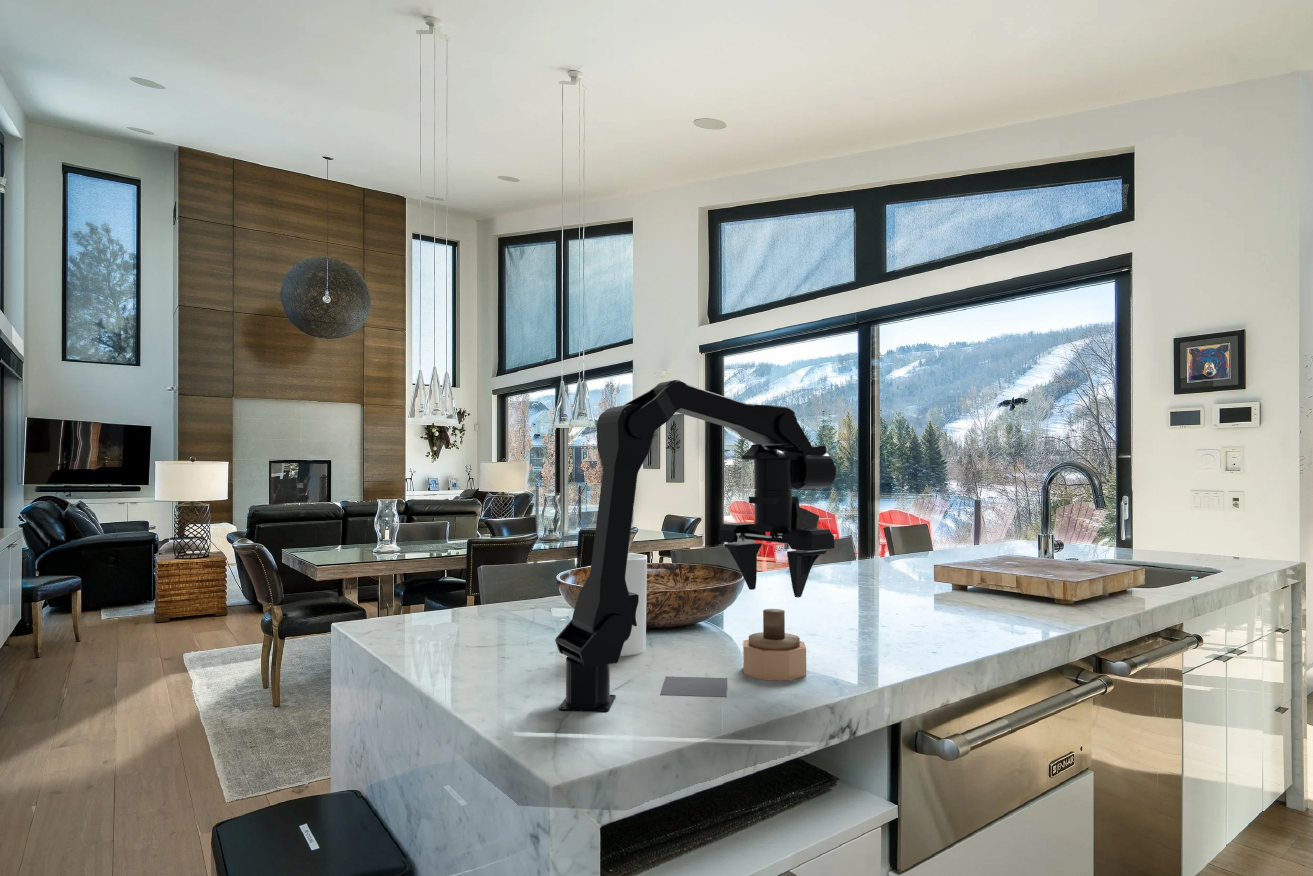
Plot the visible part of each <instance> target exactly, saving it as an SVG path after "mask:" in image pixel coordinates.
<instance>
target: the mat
mask: <svg viewBox="0 0 1313 876" xmlns="http://www.w3.org/2000/svg"><path fill="white" fill-rule="evenodd" d="M659 696H670V697H671V696H672V697H673V696H675V697H676V696H677V697H707V698H709V697H712V698H713V697H714V698H727V697H728V677H705V676H704V677H703V676H702V677H701V676H667V675H665V678H664V680H663V684H662V688H661V690H660V693H659Z"/></svg>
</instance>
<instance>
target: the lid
mask: <svg viewBox="0 0 1313 876" xmlns="http://www.w3.org/2000/svg"><path fill="white" fill-rule="evenodd" d="M762 613H763V614H762V617H763V618H762V619H763V620H762V623H763V624H762V632H755V633H751V634H749V635H748V640H749V645H750V646H752V647H755V648H759V649H765V650H790V649H795V648H798V647H799V646H800V641H801V639H800V637H799V636H798V635H795V634H793V633H787V632H785V631H786V629H785V627H786V625H785V624H786V623H785V622H786V621H785V618H786V617H785V616H786V614H785V610H784V609H779V608H765V609H763V611H762Z"/></svg>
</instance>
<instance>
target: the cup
mask: <svg viewBox="0 0 1313 876" xmlns="http://www.w3.org/2000/svg"><path fill="white" fill-rule="evenodd" d="M647 579H648V556H647V555H644V554H640V553H639V554H638V553H628V558H627V567H626V575H625V580H626V584H627V588H628V592H632V593H635V594H638V595H639V602H638V606H637V609H636V623H637V626H633V625H632V631H631V634H630V637H629V639H628V640H626V641H625V642H624V644H623V647H622V651H621V654H620V657H623V656H635V655H640V654H642V653H644V652H645V651H646V648H647V647H646V646H647V645H646V642H647V641H646V640H647V636H646V635H647V632H646V631H647V588H648V587H647V585H648V584H647V583H648V582H647V581H648V580H647Z"/></svg>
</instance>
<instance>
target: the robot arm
mask: <svg viewBox="0 0 1313 876" xmlns="http://www.w3.org/2000/svg"><path fill="white" fill-rule="evenodd" d="M675 413H677V414H681V415H684V416H687V417H691V418H695V419H698V420H702V421H705V422H708V423H711V424H715V425H718V426H722V427H725V428H729V429H731V430H733V431H735V432H736V433H737V434H738V436H740V437H742V438H743V439H745V440H747V441H748V442H751V443H752V444H751V445H750V447H749V449H748V450H747V451H746V452H744V453H743V454H742V455H741V459H742V460H743V461H753V483H754V484H753V485H754V486H753V487H754V488H753V489H754V490H753V491H754V493H753V494H754V496H748V504H754V505H753V506H754V523H752V522H731V523H722V525H721V526H720V528H719V530H718V542H719V543H720V542H721V543H725V544H724V548H726V549H727V550H728V551H729V553H730V554H731V557H732V558H733V560H734V562H735V563H736V565H737V567H738V569H739V571H740V573H741V576H742V578H743V580H744V581H745V583H746V586H747V587H748V589H749V590H750V591H751V590H752V591H753V590H756V587H757V580H758V579H757V577H758V576H757V573H758V569H757V568H758V565H757V564H758V561H757V560H758V553H759V551H760V549H761V547H762V546H763V543H762V542H773V543H782V544H788V546H789V548H790V549H791V550H789V551H786V556H787V561H788V563H787V564H788V567H789V568H788V569H789V574H790V575H789V576H790V581H791V587H792V592H793V595H794V597H795V598H801V597H802V596H803V592H804V589H805V588H806V587H805V586H806V584H807V582H808V578H809V575H810V572H811V570H812V568H813V566H814V564H815V561H816V560H817V559H818V558H819V557H820V556H821V555H826V554H827V553H828V550H829V549H835V535H834V533H833V532H832V530H831V529H829V528H821V527H820V528H819V527H818V525H819V522H820V521H819V520H820V515H818V514H816V513H814V512H812V511H810V510H809V509H806V508H803V507H800V499H799V495H796V496H794V495H793V489H795V490H804V489H805V490H806V489H807V490H808V489H812V490H813V489H814V490H815V489H827V488H829V487H830V486H832V484H833V483H834V481H835V479H836V475H837V467H836V465H835V462H834V459H833V458H832V457H831V455H829V454H828V453H827V446H826V445H812V443H811V442H810V440H809V439H808V437H807V435H806V433H805V432H804V430H803V429H802V427H801V425H800V423H799V422H798V418H797V416H796V412H795V411H794V410H793V409H791V408H790V407H789V406H788V407H787V406H783V405H781V406H779V405H771V404H754V403H752V404H751V403H747V402H743V401H739V400H737V399H734V398H730V397H728V396H725V395H722V394H721V395H720V394H718V393H715V392H712V391H709V390H705V389H702V388H700V387H696V386H694V385H693V386H692V385H689V384H687V383H685V382H683V381H682V380H680V379H673V380H667V381H663V382H660V383H658V384H656V385H655V386H654V387H653V388H651V389H650V390H648V391H647V392H645V393H643V394H641V395H639V396H637V397H636V398H634V399H632V400H630V401H629V402H625V404H623V405H617V406H612V407H609V408H606V410H604V411H603V412H602V413H601V414H599V417H598V418H597V422H596V446H597V453H598V456H599V459H600V462H601V467H602V475H601V476H602V477H601V484H600V492H599V501H598V507H597V516H596V525H595V533H594V539H593V541H594V542H593V547H592V555H591V556H592V557H591V564H590V570H589V571H590V572H589V575H588V577H587V579H586V580H585V582H584V585H583V586H582V588H581V589H580V591H579V593H578V597H577V599H576V603H575V606H574V610H573V612H572V613H573V614H572V618H571V620H570V621H569V622H568V623H567V625H566V626H564V628H563V629H562V631H560V633H559V634H557V636H556V637H555V640H554V641H555V644H556V647H557V650H558V653H559V654H561V655H564V656H565V657H566V658H565V698H564V699H563V700H562V702H561V704H560V705H559V706H558V708H557V709H558V711H560V712H584V713H608V712H610V710H611V708H612V707H613V704H614V703H615V700H616V698H617V697H616V696H617V695H615V694H610V692H611V690H610V689H611V686H610V685H611V678H610V676H611V666H610V665H612V664H617V663H618V662H619V660H620V658H621V656H620V654H621V651H622V647H623V644H624V642H625V641H626V640H628V639H629V637H630V634H631V631H632V625H633V626H637V623H636V609H637V606H638V602H639V595H638V594H635V593H632V592H628V588H627V584H626V580H625V575H626V567H627V558H628V554H629V548H630V541H631V531H632V525H633V523H632V522H633V516H634V515H633V514H634V507H635V498H636V489H637V483H638V476H639V475H638V474H639V471H640V470H641V468H642V466H643V465H644V462H645V461H646V459H647V457H648V456H649V453H650V452H651V448H652V445H653V440H654V436H655V434H656V431H657V430H658V429H659V428H661V426H663V425H664V424H666V423H667V422H669V420H670V419H671V418H672V417H673V416H674V415H675ZM767 533H769V534H767ZM757 541H762V542H757Z"/></svg>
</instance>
